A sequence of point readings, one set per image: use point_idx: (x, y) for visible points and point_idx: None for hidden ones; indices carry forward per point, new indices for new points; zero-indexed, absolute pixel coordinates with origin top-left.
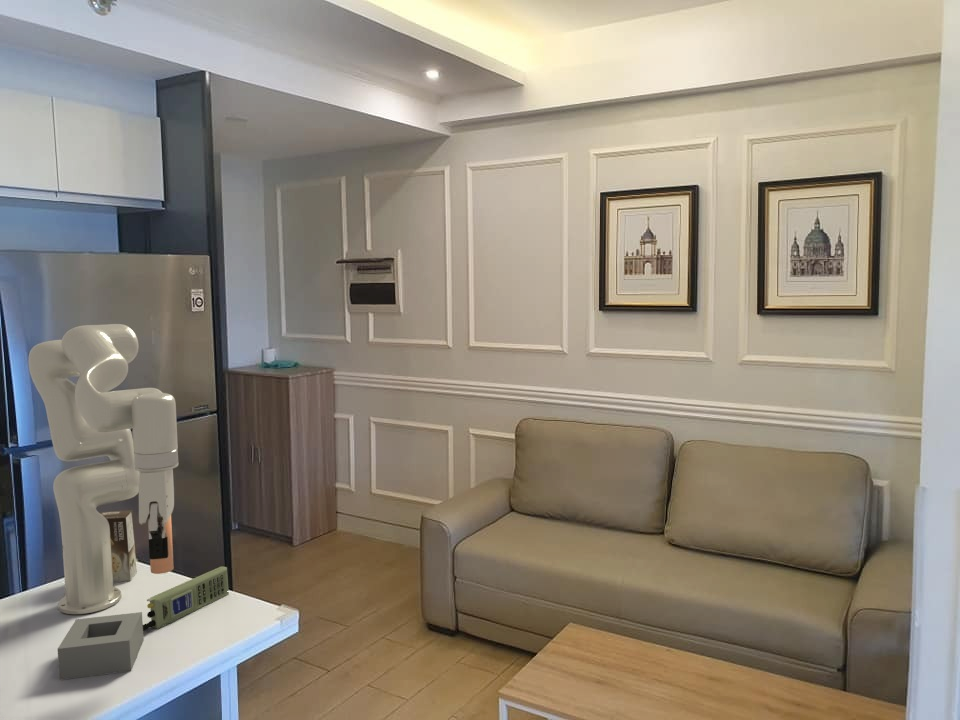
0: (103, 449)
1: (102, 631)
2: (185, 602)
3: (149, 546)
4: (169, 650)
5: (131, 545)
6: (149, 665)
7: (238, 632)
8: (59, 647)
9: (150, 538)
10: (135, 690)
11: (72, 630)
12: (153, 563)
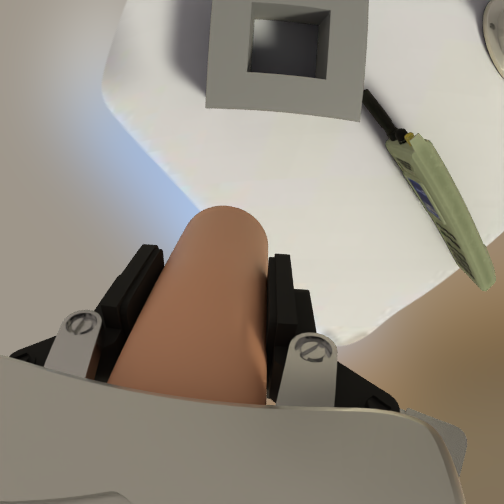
0: None
1: (325, 39)
2: (428, 204)
3: (119, 279)
4: (279, 167)
5: None
6: (228, 135)
7: (304, 280)
8: None
9: (70, 322)
10: (145, 126)
11: None
12: (180, 239)
